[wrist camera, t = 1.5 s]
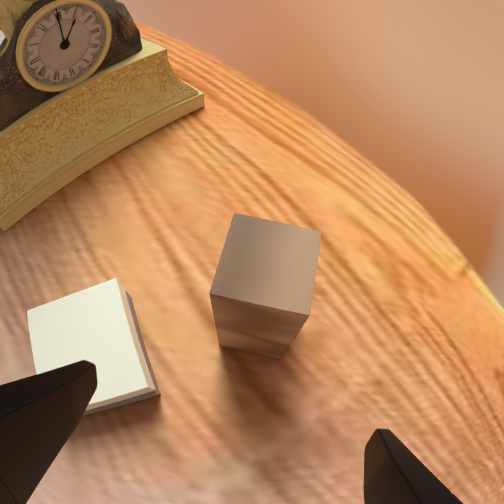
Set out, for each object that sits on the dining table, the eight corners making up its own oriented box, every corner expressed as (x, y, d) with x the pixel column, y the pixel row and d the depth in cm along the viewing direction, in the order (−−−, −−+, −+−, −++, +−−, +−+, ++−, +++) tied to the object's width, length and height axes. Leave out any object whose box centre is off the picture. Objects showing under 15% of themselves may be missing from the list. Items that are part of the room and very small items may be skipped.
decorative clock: (5, 232, 27) (-123, -3, 1) (-11, 174, 31) (-93, -7, 5) (204, 106, 37) (201, -124, 11) (154, 75, 41) (138, -105, 15)
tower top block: (124, 289, 23) (116, 277, 21) (155, 389, 19) (148, 386, 18) (39, 319, 21) (26, 310, 19) (59, 417, 18) (46, 415, 16)
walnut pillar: (290, 303, 25) (321, 231, 16) (280, 359, 22) (309, 315, 14) (234, 291, 25) (234, 213, 16) (219, 345, 23) (209, 293, 14)
